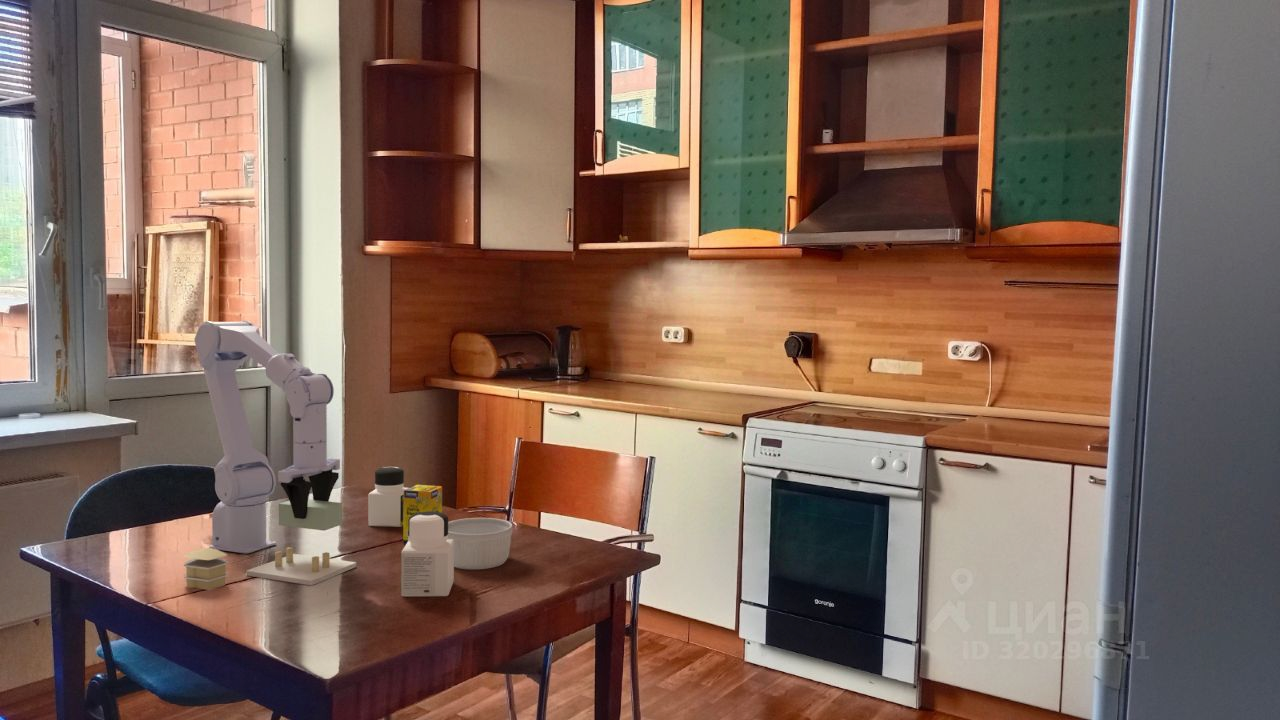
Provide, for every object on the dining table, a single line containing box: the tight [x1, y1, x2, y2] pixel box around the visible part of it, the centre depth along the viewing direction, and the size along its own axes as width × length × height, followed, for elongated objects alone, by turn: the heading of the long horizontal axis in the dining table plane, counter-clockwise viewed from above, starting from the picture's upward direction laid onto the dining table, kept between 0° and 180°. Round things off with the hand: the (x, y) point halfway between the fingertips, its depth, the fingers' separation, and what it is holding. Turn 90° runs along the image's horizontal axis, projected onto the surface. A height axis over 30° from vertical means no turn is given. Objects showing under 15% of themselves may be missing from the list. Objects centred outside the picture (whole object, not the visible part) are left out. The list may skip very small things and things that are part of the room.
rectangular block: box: [278, 498, 343, 531], centre depth 170 cm, size 10×5×4 cm, turn 71°
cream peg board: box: [245, 547, 357, 586], centre depth 166 cm, size 14×12×3 cm
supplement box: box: [402, 484, 443, 545], centre depth 187 cm, size 6×6×11 cm
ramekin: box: [448, 517, 514, 570], centre depth 174 cm, size 13×13×7 cm
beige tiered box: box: [183, 547, 229, 591], centre depth 157 cm, size 10×9×6 cm
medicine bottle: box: [367, 466, 410, 528], centre depth 202 cm, size 7×7×12 cm
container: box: [400, 511, 455, 597], centre depth 156 cm, size 8×8×13 cm
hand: (310, 514), depth 170 cm, fingers closed on rectangular block, 5 cm apart
